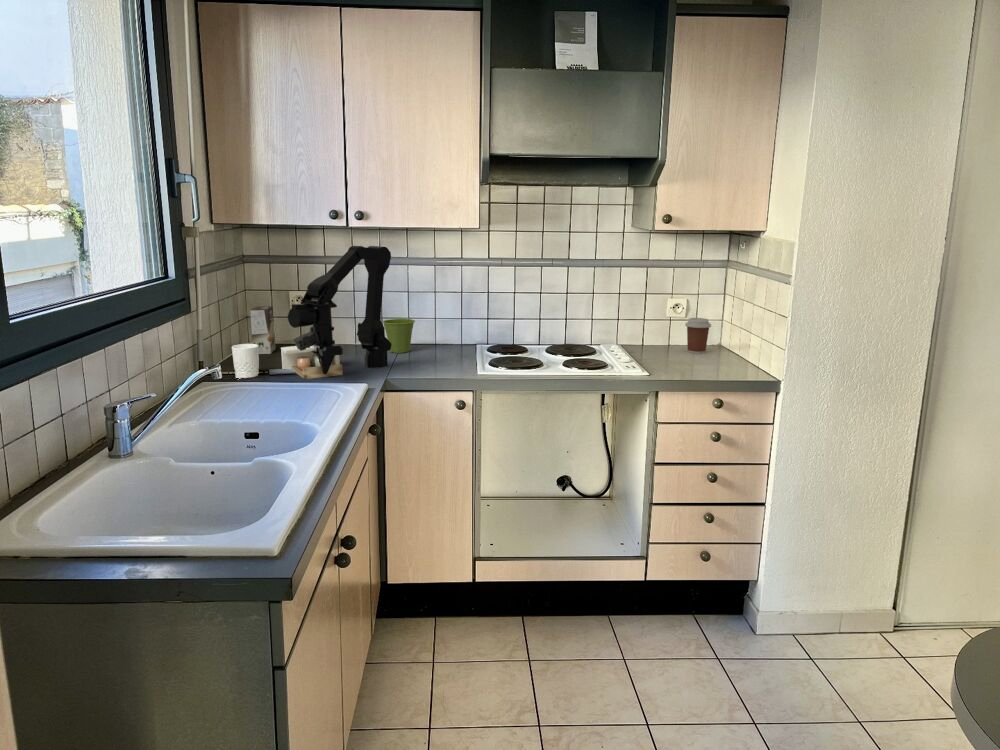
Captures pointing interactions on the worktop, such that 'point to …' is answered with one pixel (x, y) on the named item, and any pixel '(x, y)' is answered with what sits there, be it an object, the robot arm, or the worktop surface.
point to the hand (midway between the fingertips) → (325, 373)
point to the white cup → (246, 360)
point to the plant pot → (399, 334)
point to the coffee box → (263, 329)
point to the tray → (318, 371)
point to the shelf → (293, 353)
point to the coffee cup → (697, 334)
